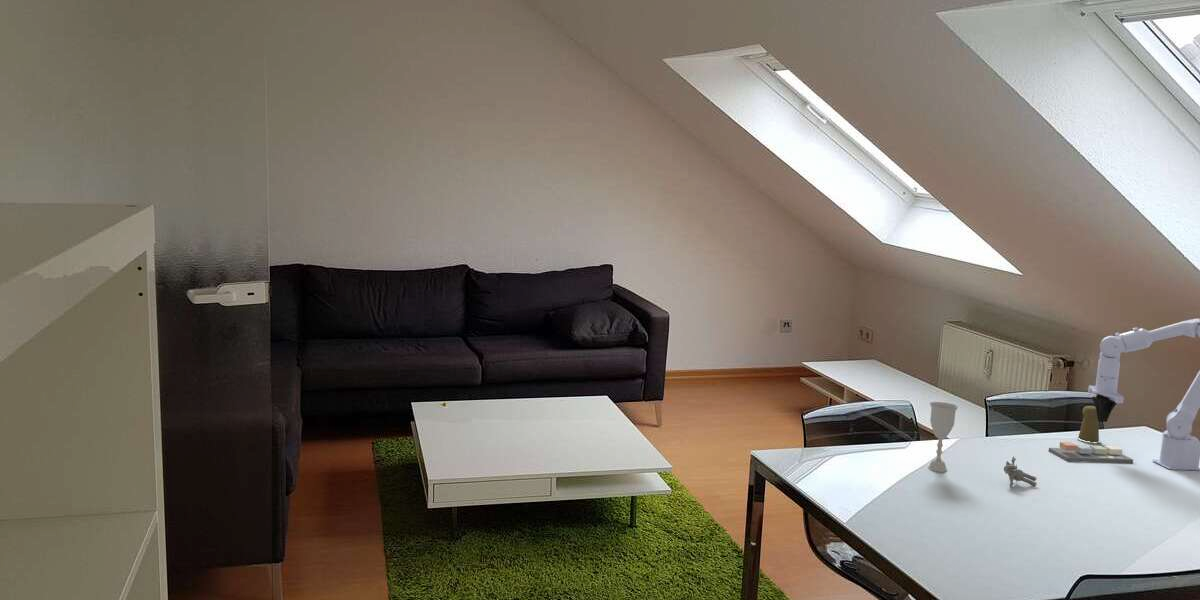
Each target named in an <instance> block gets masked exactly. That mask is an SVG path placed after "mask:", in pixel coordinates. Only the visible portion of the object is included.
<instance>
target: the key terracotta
mask: <svg viewBox="0 0 1200 600" xmlns="http://www.w3.org/2000/svg"><path fill="white" fill-rule="evenodd" d="M1077 445H1078V444H1076V443H1074V442H1072V441H1059V447H1058V448H1062V449H1064V450H1066V451H1077Z"/></svg>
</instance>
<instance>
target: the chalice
mask: <svg viewBox="0 0 1200 600" xmlns="http://www.w3.org/2000/svg"><path fill="white" fill-rule="evenodd" d="M929 405H930V408H931V409H930V421H929V422H930V425H931V428H932V432H933V433H934V437H936V438H937V440H938V441H937V443H936V446H937V449H936V451H935V452H936V458H935V459H932V460H931V461H930V463H929V466H928V467H927V469H929V470H930V471H934V472H939V473H945V472H947V471H948V469H947V465H946V463H945V461H944V460H943V459H942V457H941V456H942V454H943V452H944V451H943V450H942V448H943V446H944V445H943V439H946V438H947V437H948V436H949V434H950V433H951V431H952V430H953V427H954V426H955V419H956V412H957V409H958V408H959V406H958V405H956V404H954V403H948V402H944V401H943V402H942V401H932V402H930V403H929Z"/></svg>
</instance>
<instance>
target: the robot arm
mask: <svg viewBox="0 0 1200 600" xmlns="http://www.w3.org/2000/svg"><path fill="white" fill-rule="evenodd" d="M1114 334H1115V335H1114V336H1113V335H1108V336H1106V337H1103V339H1102V340H1101V342H1100V344H1099V350H1100V353H1099V359H1098V362H1097V370H1096V380H1095V385H1088V388H1087V392H1088V393H1092V394H1094V395H1096V396H1092V397H1091V399H1092V402H1093V404H1094V406H1095V407H1096V412H1097V419H1098V422H1099V423H1106V422H1107V421H1108V420H1109V417H1110V416H1111V413H1112V411H1113V409H1114V408H1115V406H1116V405H1117V404H1124V399H1125V397H1124V396H1122V395H1121V394H1120V393H1119V392H1118V383H1119V375H1120V367H1121V362H1120V357H1121V354H1122V353H1126V354H1127V353H1131V352H1135V351H1139V350H1143V349H1147V348H1150V346H1152V345H1151V344H1153V342H1156V341H1161V340H1166V339H1169V338H1174V337H1179V336H1186V337H1191V338H1193V339H1194V338H1196V335H1197V336H1198V338H1199V339H1200V318H1193V319H1192V318H1191V319H1187V320H1182V321H1180V322H1177V323H1176V322H1175V323H1173V324H1170V325H1165V326H1161V327H1158V328H1156V329H1152V330H1147V329H1145V328H1143V327H1141V328H1139V327H1133V328H1132V330H1130V331H1127V332H1122V333H1120V332H1116V333H1114ZM1199 409H1200V370H1199V371H1198V372H1197V374H1196V376H1195V377H1194V378H1193V381H1192V383H1191V384H1190V386H1189V388H1188V389H1187V391H1186V393H1185V394H1184V396H1183V398H1182V400H1181V401H1180V402H1179V404H1177V406H1176V408H1175V409H1174V410H1173V411H1171V412H1169V413H1168V414H1167V415H1166V419H1165V421H1166V422H1165V423H1166V426H1165V427H1166V429H1165V431H1163V432H1162V433H1163V434H1162V437H1161V440H1162V441H1161V447H1160V448H1161V449H1160V455H1159V459H1152V462H1153V463H1155V464H1158V465H1159V466H1162V467H1164V468H1166V469H1168V470H1183V471H1186V470H1187V471H1189V470H1190V471H1200V467H1199V465H1200V440H1199V439H1198V438H1197V437H1195V436H1193V435H1192V434H1191V433H1192V431H1193V422H1194V421H1195V419H1196V417H1197V414H1198V411H1199Z"/></svg>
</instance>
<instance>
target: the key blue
mask: <svg viewBox="0 0 1200 600" xmlns="http://www.w3.org/2000/svg"><path fill="white" fill-rule="evenodd" d="M1076 445H1077V451H1076V452H1078V453H1080V454H1092V448H1090V447H1089V445H1085V444H1082V445H1081V444H1076Z"/></svg>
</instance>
